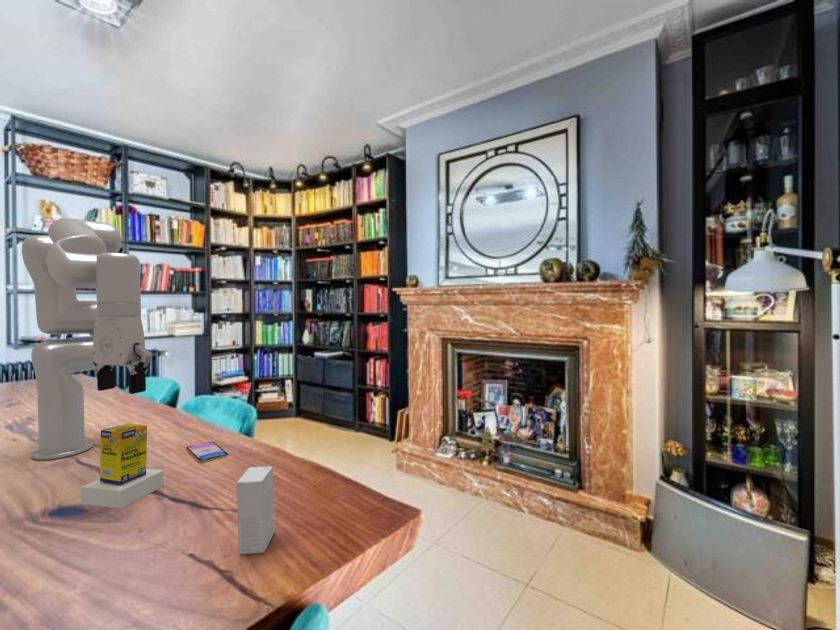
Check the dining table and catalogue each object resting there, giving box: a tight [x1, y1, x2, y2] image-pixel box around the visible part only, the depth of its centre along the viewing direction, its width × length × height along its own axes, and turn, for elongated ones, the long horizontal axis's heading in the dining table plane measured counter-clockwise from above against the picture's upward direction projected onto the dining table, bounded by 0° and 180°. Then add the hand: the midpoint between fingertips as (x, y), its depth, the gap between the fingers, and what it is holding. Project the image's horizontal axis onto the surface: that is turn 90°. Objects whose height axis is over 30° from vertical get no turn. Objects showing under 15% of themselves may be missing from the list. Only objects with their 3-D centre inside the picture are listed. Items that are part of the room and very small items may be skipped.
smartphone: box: [185, 441, 230, 464], centre depth 108 cm, size 8×15×1 cm, turn 44°
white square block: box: [80, 468, 164, 510], centre depth 84 cm, size 10×10×4 cm
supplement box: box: [99, 422, 148, 485], centre depth 84 cm, size 6×6×11 cm
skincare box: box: [236, 466, 275, 555], centre depth 66 cm, size 6×4×12 cm
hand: (121, 390), depth 84 cm, fingers open, 9 cm apart
